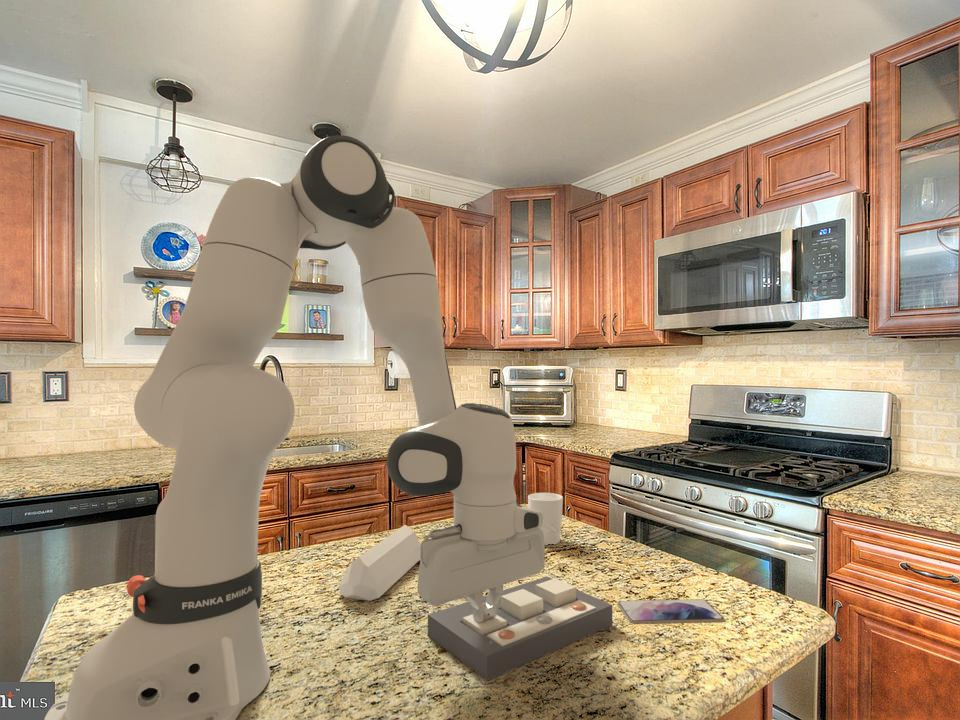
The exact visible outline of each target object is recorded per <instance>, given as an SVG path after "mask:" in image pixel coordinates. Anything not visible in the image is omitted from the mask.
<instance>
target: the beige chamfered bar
mask: <svg viewBox="0 0 960 720" xmlns="http://www.w3.org/2000/svg"><path fill="white" fill-rule="evenodd" d="M420 553H421V542H420V540H419V538H418V536H417V534H416V532H415V531H414V530H413V529H412V528H410V527H409V526H408V525H406V524H404V525H402V526H401V527H399V528H397V530H395V531H394V532H392V533H391V534H389V535H388V536H387V537H385V538H383V540H381V541H379V542H378V543H377V544H375V545H374V546H372V547H371V548H370V549H368V550H367V551H365V552H364V553H362V554H361V555H360V556H358V557H357V558H356V559H355V560H353V561H352V562H351V563H350V564H349V565H348V567H347V569H346V571H345V573H344V574H343V576H342V578H341V580H340V583H339V587H338V588H339V589H338V591H339V594H340V595H342V596H343V597H344V598H346V599H347V598H348V599H353V600H354V599H355V600H361V601H362V600H363V601H370V602H371V601H373V600H376V599H379V598H380V597H382V596H383V595H384V594H385V593H386V592H388V590H389V589H390V588H391V587H393V585H394V584H395V583H397V582H398V580H400V579H401V578H402V577H403V576H404V575H405V574H406V573H408V572H409V571H410V570H411V569H412V568H413V567H414V566H415V565H416V564H417V563H418V562H420V561H421V557H420Z"/></svg>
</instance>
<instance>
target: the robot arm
mask: <svg viewBox="0 0 960 720" xmlns="http://www.w3.org/2000/svg"><path fill="white" fill-rule="evenodd" d="M390 195H391V201H390ZM395 201H396V195H395V191H394V188H393V187H392V185H391V183H389V180H387V176H386V174H385V171H384V168H383V166H382V164H381V162H380V160H379V159H378V157H377V156H376V154H375V152H373V151H372V149H370V148H369V146H368V145H367V144H365V143H364V142H363V141H361V140H360V139H357V138H355V137H352V136H349V135H343V134H337V135H330V136H327V137H325V138H323V139H321V140H319V141H318V142H317V143H315V144H314V145H313V146H312V147H311V148H310V149H309V150H308V151H307V152H306V154H305V155H304V156H303V159H302V161H301V163H300V166H299V168H298V170H297V172H296V173H295V176H294V177H293V178H292V180H291V181H288V182H282V183H281V182H280V183H279V182H276V181H272V180H270V179H267V178H263V177H253V176H252V177H251V176H249V177H243V178H240V179H237V180H235V181H234V182H232V184H231V185H229V186H228V188H227V189H226V191H225V193H224V195H223V196H222V198H221V200H220V202H219V204H218V206H217V208H216V210H215V211H214V214H213V216H212V219H211V221H210V224H209V226H208V229H207V231H206V235H205V237H204V241H203V243H202V247H201V250H200V251H201V252H200V255H199V258H198V261H197V264H196V268H195V272H194V275H193V278H192V283H191V285H190V288H189V292H188V296H187V298H186V302H185V305H184V306H183V310H182V312H181V314H180V316H179V319H178V320H177V323H176V325H175V327H174V329H173V331H172V332H171V334H170V337H169V338H168V340H167V342H166V344H165V346H164V348H163V350H162V351H161V354H160V356H159V358H158V361H157V362H156V364H155V367H154V368H153V371H152V372H151V375H149V377H148V378H147V379H146V381H145V382H144V383H143V384H142V385H141V386H140V388H139V390H138V391H137V393H136V396H135V398H134V403H133V404H134V405H133V412H134V416H135V418H136V421H137V423H138V425H139V426H140V428H141V429H142V430H143V431H144V432H145V434H147V435H148V436H149V437H150V438H151V439H152V440H154V442H155V443H158V444H159V445H161V446H164V447H165V448H169V449H174V450H175V459H174V465H173V469H172V474H171V477H170V481H169V484H168V487H167V491H166V494H165V496H164V498H163V499H162V500H161V501H160V503H159V504H158V505H157V509H156V513H155V536H154V537H155V540H154V541H155V543H154V544H155V545H154V548H155V549H154V550H155V553H154V574H153V575H151V576H150V577H149V578H148V579H146V577H144V575H140V574H139V575H134V576H131V578H129V580H128V581H127V582H126V585H125V586H126V592H127V595H128V596H130V597H131V598H132V611H133V613H132V614H131V615H130V616H128V617H127V618H126V619H125V620H124V621H123V622H121V623H120V624H118V626H116V628H114V629H113V630H112V631H111V632H110V633H108V634H107V635H105V637H103V638H102V639H101V640H99V641H98V642H97V643H96V644H95V645H93V646H92V647H91V648H89V649H88V651H87V652H86V653H84V655H83V657H82V658H81V660H80V661H79V663H78V666H77V668H76V670H75V673H74V675H73V678H72V681H71V683H70V688H69V692H67V693H65V694H63V695H62V696H61V697H60V698H59V699H58V700H57V701H55V702H54V704H52V706H51V707H50V708H49V710H48V711H47V713H46V714H45V716H44V719H43V720H236V719H237V718H238V716H239V715H240V713H241V711H242V710H243V708H245V707H246V706H247V705H248V704H249V703H251V702H252V701H253V700H254V699H256V698H257V697H258V696H259V695H260V694H261V693H262V692H263V690H265V688H267V685H268V683H269V681H270V678H271V669H270V666H269V663H268V661H267V656H266V653H265V652H266V651H265V649H264V643H263V638H262V637H263V636H262V631H261V629H262V628H261V621H260V610H259V609H261V602H262V597H263V572H262V564H261V563H262V562H260V561H259V559H258V554H259V551H258V549H259V548H258V547H259V518H260V517H259V515H260V502H261V495H262V491H263V486H264V481H265V478H266V475H267V473H268V470H269V469H268V468H269V466H270V462H271V460H272V457H273V455H274V453H275V451H277V449H278V448H279V447H280V445H282V444H283V442H284V441H285V440H286V439H287V437H288V436H289V434H290V432H291V430H292V427H293V424H294V421H295V414H296V412H295V402H294V399H293V398H294V397H293V396H292V393H291V391H290V389H289V388H288V386H287V385H286V383H284V381H282V379H280V378H279V377H277V376H276V375H274V374H272V373H269V372H268V371H265V370H264V369H260V368H258V367H254V365H255V363H256V361H257V359H258V358H259V355H261V352H262V350H263V349H264V348H265V347H266V345H267V344H268V343H269V341H270V340H271V339H273V338H274V337H275V335H276V334H277V333H278V331H279V330H280V327H281V325H282V321H283V316H284V312H285V308H286V303H287V300H288V295H289V292H290V287H291V282H292V278H293V275H294V270H295V265H296V260H297V256H298V253H299V250H300V249H311V250H317V251H330V250H334V249H338V248H340V247H342V246H343V245H348V247H349V248H350V250H351V251H352V253H353V254H354V256H355V258H356V260H357V264H358V266H359V276H360V283H361V290H362V297H363V298H362V300H363V305H364V308H365V312H366V315H367V319H368V321H369V323H370V326H371V329H372V331H373V332H374V334H375V335H376V336H377V338H379V339H380V340H381V341H382V342H384V343H385V344H386V345H387V346H388V347H389V348H391V349H392V350H393V351H394V352H395V354H397V355H398V357H399V358H400V359H401V360H402V362H403V363H404V366H406V368H407V371H408V373H409V376H410V377H409V378H410V383H411V386H412V392H413V397H414V402H415V407H416V412H417V416H418V423H417V427H413V428H411V429H409V430H407V431H405V432H403V433H401V434H400V435H399V436H397V437H396V438H395V439H394V440H393V441H392V443H391V444H390V447H389V449H388V450H387V455H386V470H387V473H388V476H389V478H390V480H391V482H392V483H393V484H394V486H395V487H396V488H397V489H398V490H400V491H401V492H403V493H404V494H406V495H410V496H415V497H419V496H420V497H421V496H422V497H423V496H432V495H438V494H443V493H448V492H450V493H452V495H453V525H451V526H447V527H444V528H441V529H434V530H431V531H430V532H429V534H428V535H426V536H425V537H424V538H423V540H422V541H421V542H420V544H421V553H420V557H421V559H420V560H419V562H420V563H419V568H418V575H417V576H418V577H417V593H418V595H419V596H420V598H421V599H422V600H424V601H425V602H426V603H428V604H429V605H431V606H434V607H436V606H441V605H443V604H446V603H450V602H453V601H456V600H460V599H463V598H465V597H466V598H467V599H468V602H470V603H471V605H472V607H473V618H474V620H475V621H477V622H478V623H480V622H483V621H486V620H488V619H491V618H494V617H496V615H497V604H498V602H499V600H500V598H501V595H502V593H503V590H504V585H507V584H511V583H513V582H515V581H519V580H522V579H526V578H529V577H531V576H534V575H538V574H541V572H542V571H543V568H544V567H545V563H546V549H545V547H546V545H545V542H544V534H543V531H542V530H541V528H539V527H541V526H542V525H543V514H542V513H541V512H539V511H536V510H533V509H530V508H528V507H527V506H523V505H521V504H518V503H517V494H516V489H515V487H514V486H515V485H514V484H515V483H514V479H515V474H516V471H517V444H516V433H515V427H514V423H513V420H512V417H511V416H510V415H509V414H508V413H507V412H506V411H505V410H504V409H502V408H499V407H496V406H493V405H487V404H483V403H476V402H475V403H473V402H467V403H462V404H460V405H459V406H458V407H457V403H456V399H455V395H454V389H453V384H452V379H451V374H450V369H449V364H448V360H447V355H446V350H445V342H444V333H443V325H442V313H441V312H442V311H441V302H440V301H441V300H440V293H439V285H438V284H439V283H438V277H437V272H436V266H435V261H434V258H433V257H434V256H433V253H432V249H431V246H430V243H429V239H428V237H427V233H426V230H425V228H424V225H423V222H422V221H421V219H420V217H418V215H417V214H416V213H415V212H413V211H412V210H409V209H407V208H402V207H398V206H397V207H395ZM484 591H488V592H487V595H486V596H487V598H486V601H485V602H484V603H481V601H480V599H481V598H483V597H484ZM479 598H480V599H479Z"/></svg>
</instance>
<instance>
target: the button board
mask: <svg viewBox="0 0 960 720" xmlns="http://www.w3.org/2000/svg"><path fill="white" fill-rule="evenodd" d="M552 579H553V578H552V577H549V576H543V577H541V578H538V579H533V580H532V581H528V582H524V583H522V584H518V585H515V586H513V587H510V588H506V589H503V593H502V595H501V596H503V595H506V594H509V593H512V592H515V591H518V590H521V589H524V590H526V591H529V592H531V593H533V594H535V595H536V585H537V584H540V583H543V582H546V581H549V580H552ZM486 598H487V595H485V596H484V595H483V598H481V599H480V598H479V599H480V601H481V603H484V602H485V601H486ZM472 614H473V607H472V605H471V603H470V602H469V601H466V602H463V603H460V604H459V603H458V604H456V605H453V606H450V607H447V608H445V609H441V610H438V611H435V612H431V613H428V614H427V637H429V638H430V639H432V640H433V641H434V642H436V643H437V644H438V645H439V646H441V647H442V648H443V649H445V650H446V651H447V652H449V653H450V654H452V656H454V657H455V658H456V659H458V660H459V661H460V662H461V663H463V664H465V665H466V666H467V667H468V668H470V669H471V671H474V672H475V673H476V674H477V675H479V677H482V678H483V679H484V680H485V681H491V680H492V679H494V678H496V677H499V676H501V675H503V674H506V673H508V672H510V671H512V670H516V668H519V667H522V666H524V665H526V664H528V663H530V662H532V661H535V660H537V659H539V658H541V657H544V656H546V655H548V654H551V653H553V652H554V651H557V650H559V649H561V648H563V647H566V646H569V645H571V644H573V643H575V642H577V641H579V640H582V639H584V638H587V637H588V636H591V635H593V634H596V633H598V632H600V631H602V630H604V629H607V628H609V627H611V626H613V604H611V603H608V602H606V601H605V600H601V599H599V598H597V597H595V596H592V594H588V593H586V592H583V591H581V590H580V589H577V588H576V600H575V601H572V602H569V603H567V604H564V605H561V606H559V607H553V606H551V605H549V604H547V603H545V602H543V613H540V614H537V615H535V616H532V617H529V618H527V619H524V620H521V621H520V620H518V619H516V618H515V617H513V616H511V615H509V614H508V613H506V612H504V611H502V610H501V598H500V600H499V602H498V604H497V615H498V616H500V617H501V618H503V619H505V620H506V621H507V626H505V627H503V628H500V629H497V630H495V631H492V632H489V633H487V634H484V635H479V634H478V633H476V632H475V631H473V630H472V629H470V628H469V627H467V626H466V625H464V624H463V617H466V616H469V615H472Z"/></svg>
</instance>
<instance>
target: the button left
mask: <svg viewBox="0 0 960 720" xmlns="http://www.w3.org/2000/svg"><path fill="white" fill-rule="evenodd" d="M463 624H464V625H466V626H467V627H469V628H470V629H472V630H473V631H475V632H476V633H478V634H479V635H484V634H487V633H489V632H492V631H495V630H497V629H500V628H503V627H505V626H507V621H506V620H505V619H503V618H501V617H500V616H498V615H496V617H494V618H491V619H488V620H486V621H483V622H480V623H478V622H477V621H475V620H474V618H473V614H472V615H469V616H466V617H463Z"/></svg>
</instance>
